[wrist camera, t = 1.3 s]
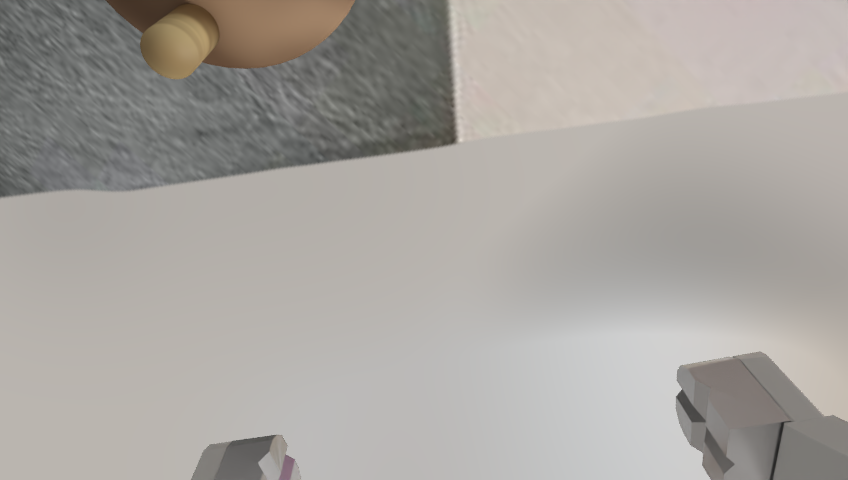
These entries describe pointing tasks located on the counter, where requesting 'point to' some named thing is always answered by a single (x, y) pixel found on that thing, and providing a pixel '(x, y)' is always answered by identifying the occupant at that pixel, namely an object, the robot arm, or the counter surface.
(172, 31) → the handwheel
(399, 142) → the counter surface
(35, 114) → the counter surface
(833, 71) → the counter surface
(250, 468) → the robot arm
